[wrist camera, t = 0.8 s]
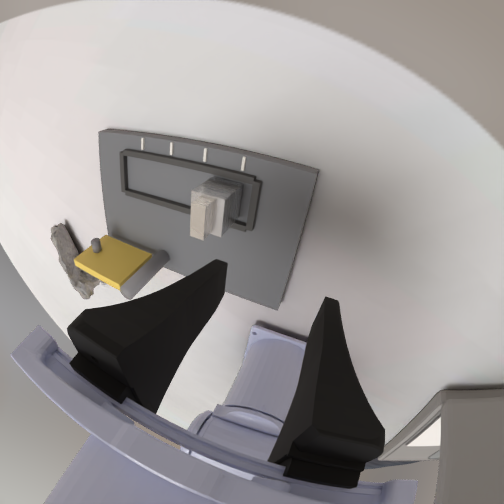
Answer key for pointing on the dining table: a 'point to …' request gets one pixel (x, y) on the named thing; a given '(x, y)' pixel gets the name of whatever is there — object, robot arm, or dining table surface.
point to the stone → (72, 262)
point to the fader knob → (214, 207)
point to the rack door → (111, 260)
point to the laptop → (458, 445)
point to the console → (179, 210)
